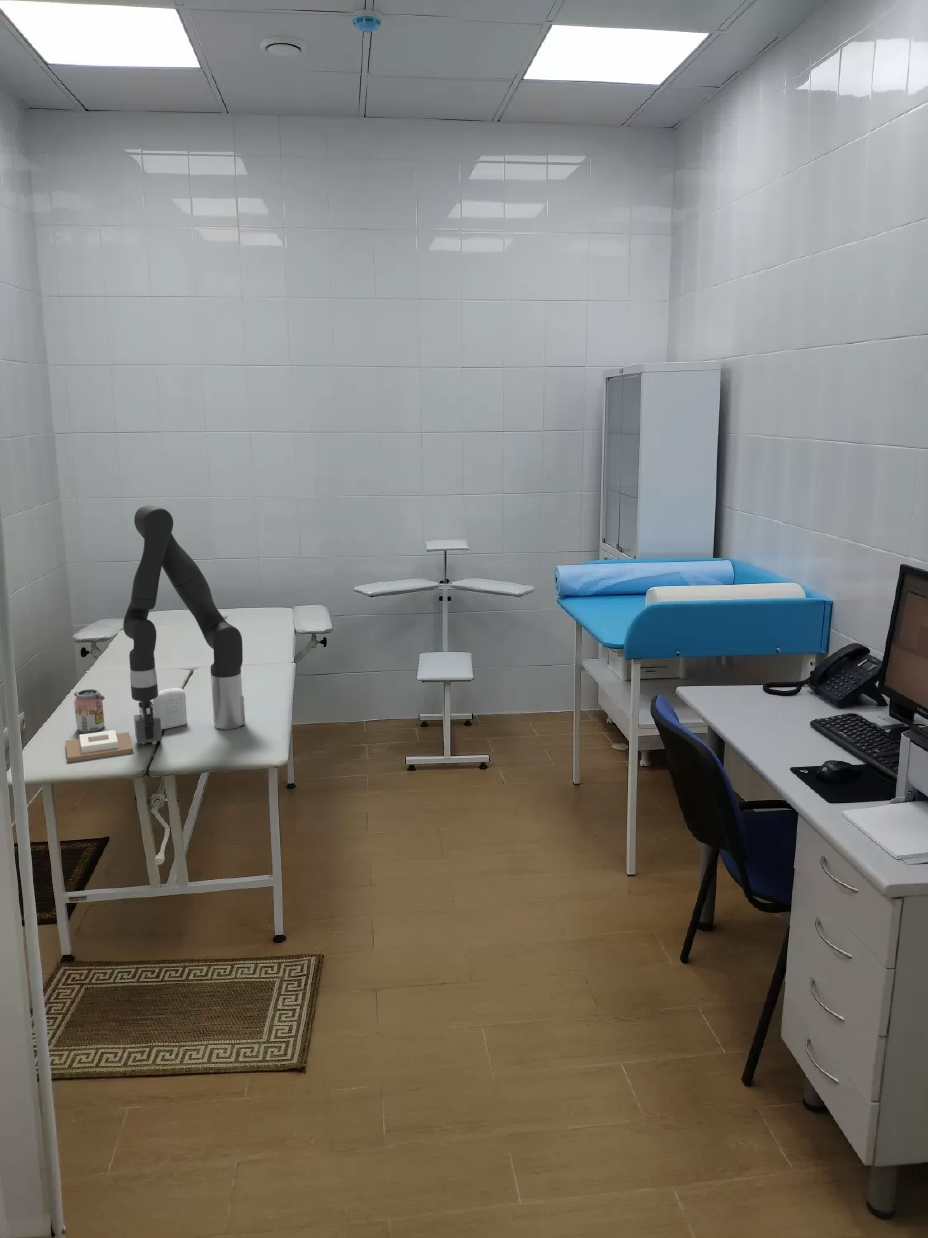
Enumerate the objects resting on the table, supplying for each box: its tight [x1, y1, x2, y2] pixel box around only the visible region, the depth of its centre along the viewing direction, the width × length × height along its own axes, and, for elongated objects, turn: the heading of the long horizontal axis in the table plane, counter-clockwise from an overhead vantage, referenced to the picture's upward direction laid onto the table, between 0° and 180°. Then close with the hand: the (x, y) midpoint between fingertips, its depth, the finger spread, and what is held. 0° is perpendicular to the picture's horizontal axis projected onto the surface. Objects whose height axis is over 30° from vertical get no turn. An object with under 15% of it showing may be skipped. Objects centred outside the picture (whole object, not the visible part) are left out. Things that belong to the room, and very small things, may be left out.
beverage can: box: [73, 688, 105, 734], centre depth 295 cm, size 9×8×12 cm
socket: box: [65, 729, 134, 764], centre depth 280 cm, size 18×14×4 cm
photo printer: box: [152, 687, 188, 730], centre depth 297 cm, size 10×4×12 cm, turn 125°
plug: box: [133, 712, 163, 745], centre depth 284 cm, size 7×6×8 cm
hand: (148, 733), depth 284 cm, fingers open, 8 cm apart
